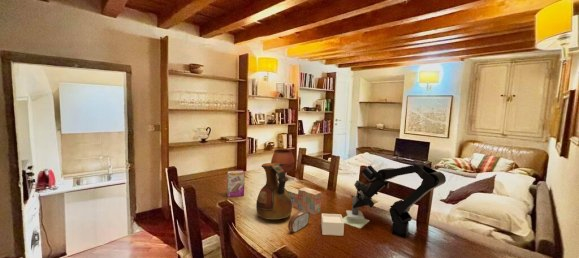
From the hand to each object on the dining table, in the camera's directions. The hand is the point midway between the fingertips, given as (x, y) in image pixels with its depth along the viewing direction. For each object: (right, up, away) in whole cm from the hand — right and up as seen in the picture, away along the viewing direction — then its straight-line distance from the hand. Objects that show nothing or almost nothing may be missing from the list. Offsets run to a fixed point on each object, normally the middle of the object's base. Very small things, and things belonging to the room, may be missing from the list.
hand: (352, 206), depth 138 cm
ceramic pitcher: (-43, -7, +4) cm, 43 cm away
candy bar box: (-70, -4, +35) cm, 79 cm away
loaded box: (-13, -9, -10) cm, 18 cm away
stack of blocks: (-26, -7, +17) cm, 31 cm away
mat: (+1, -8, +1) cm, 8 cm away
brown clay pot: (-40, -1, +73) cm, 83 cm away
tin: (-29, -9, -9) cm, 32 cm away
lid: (+1, -5, 0) cm, 5 cm away
